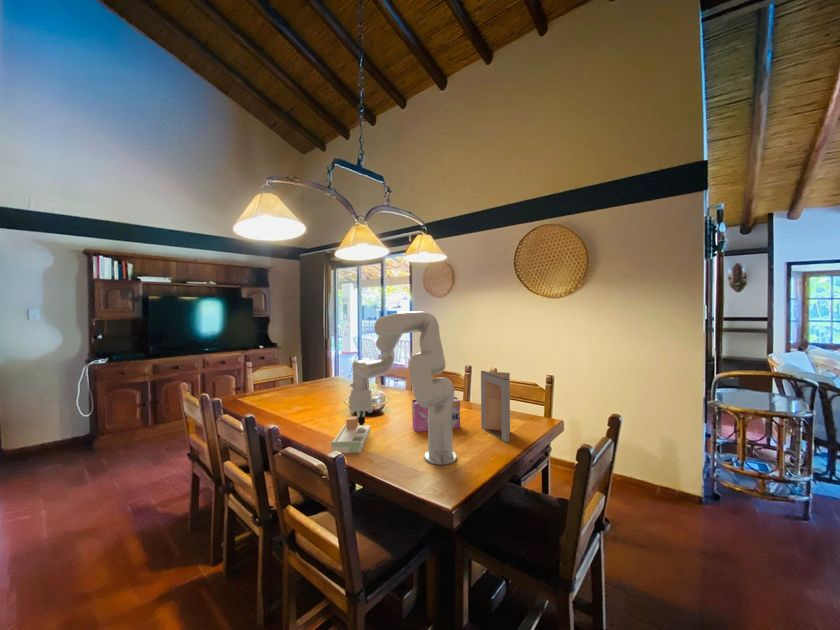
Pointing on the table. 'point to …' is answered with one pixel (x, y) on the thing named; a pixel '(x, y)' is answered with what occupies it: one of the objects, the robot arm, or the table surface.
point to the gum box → (422, 416)
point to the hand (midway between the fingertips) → (361, 424)
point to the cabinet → (496, 404)
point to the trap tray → (350, 439)
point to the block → (352, 422)
